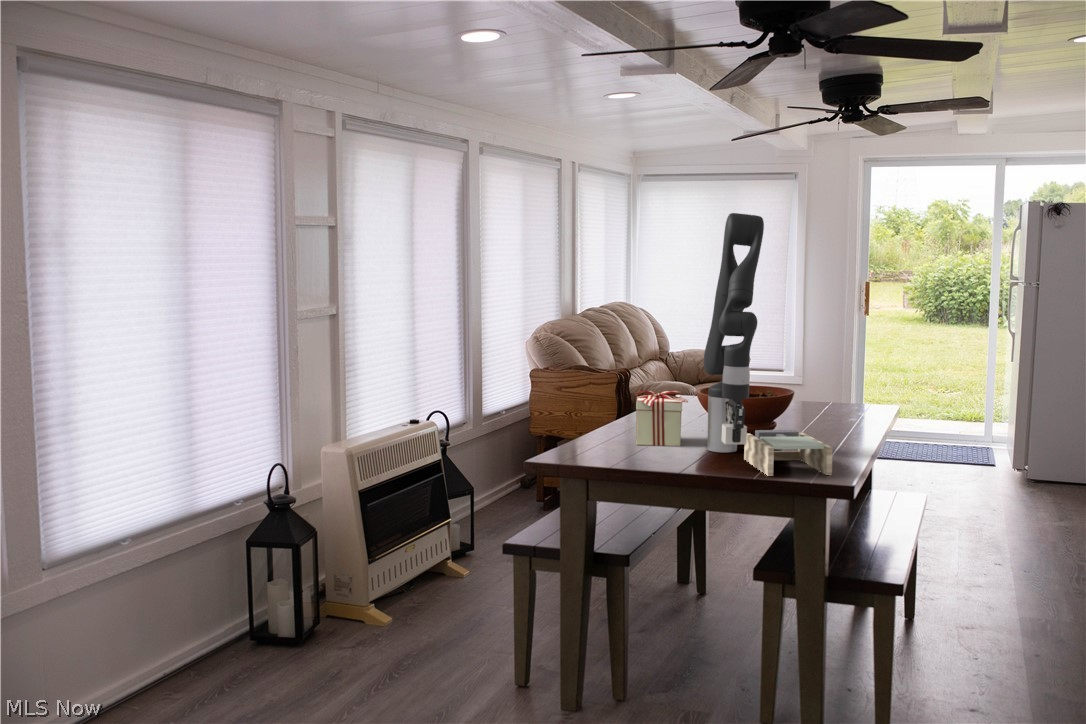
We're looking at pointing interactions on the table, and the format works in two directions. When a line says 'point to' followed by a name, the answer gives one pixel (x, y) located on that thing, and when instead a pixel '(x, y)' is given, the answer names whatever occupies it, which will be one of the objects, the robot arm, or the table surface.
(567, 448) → the table surface
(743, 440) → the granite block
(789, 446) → the trapdoor
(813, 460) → the stand
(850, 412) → the table surface
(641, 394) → the gift box
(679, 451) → the table surface
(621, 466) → the table surface
